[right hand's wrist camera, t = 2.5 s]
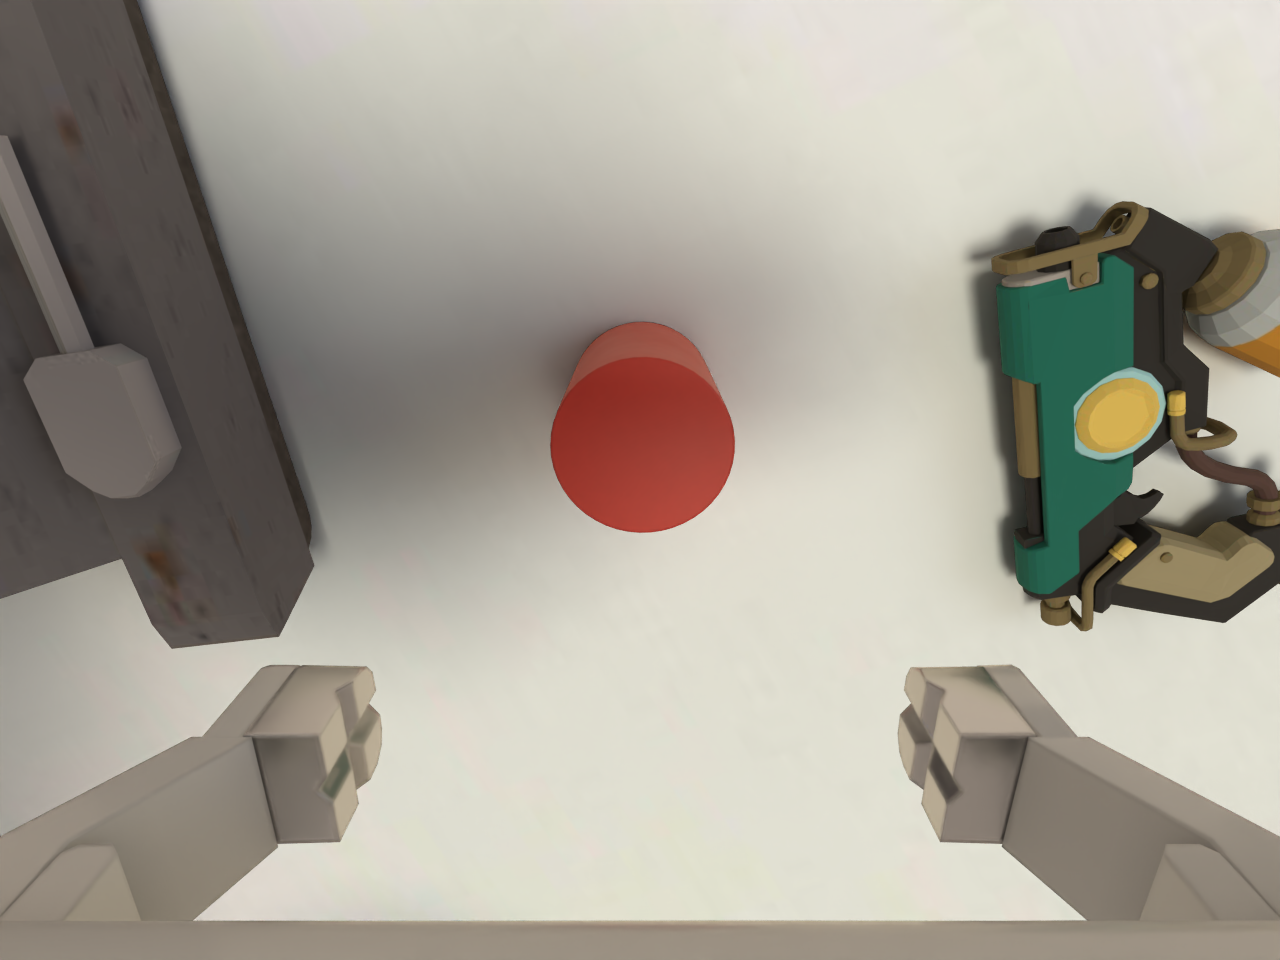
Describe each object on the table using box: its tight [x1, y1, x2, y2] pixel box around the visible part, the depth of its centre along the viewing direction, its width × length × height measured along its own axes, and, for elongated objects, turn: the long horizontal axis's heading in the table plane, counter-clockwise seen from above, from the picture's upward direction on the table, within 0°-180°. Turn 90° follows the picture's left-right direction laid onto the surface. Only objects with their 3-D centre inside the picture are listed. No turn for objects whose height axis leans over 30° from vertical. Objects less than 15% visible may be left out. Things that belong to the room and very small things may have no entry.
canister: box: [550, 322, 735, 533], centre depth 24 cm, size 6×6×7 cm
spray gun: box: [991, 201, 1280, 631], centre depth 26 cm, size 4×17×15 cm
